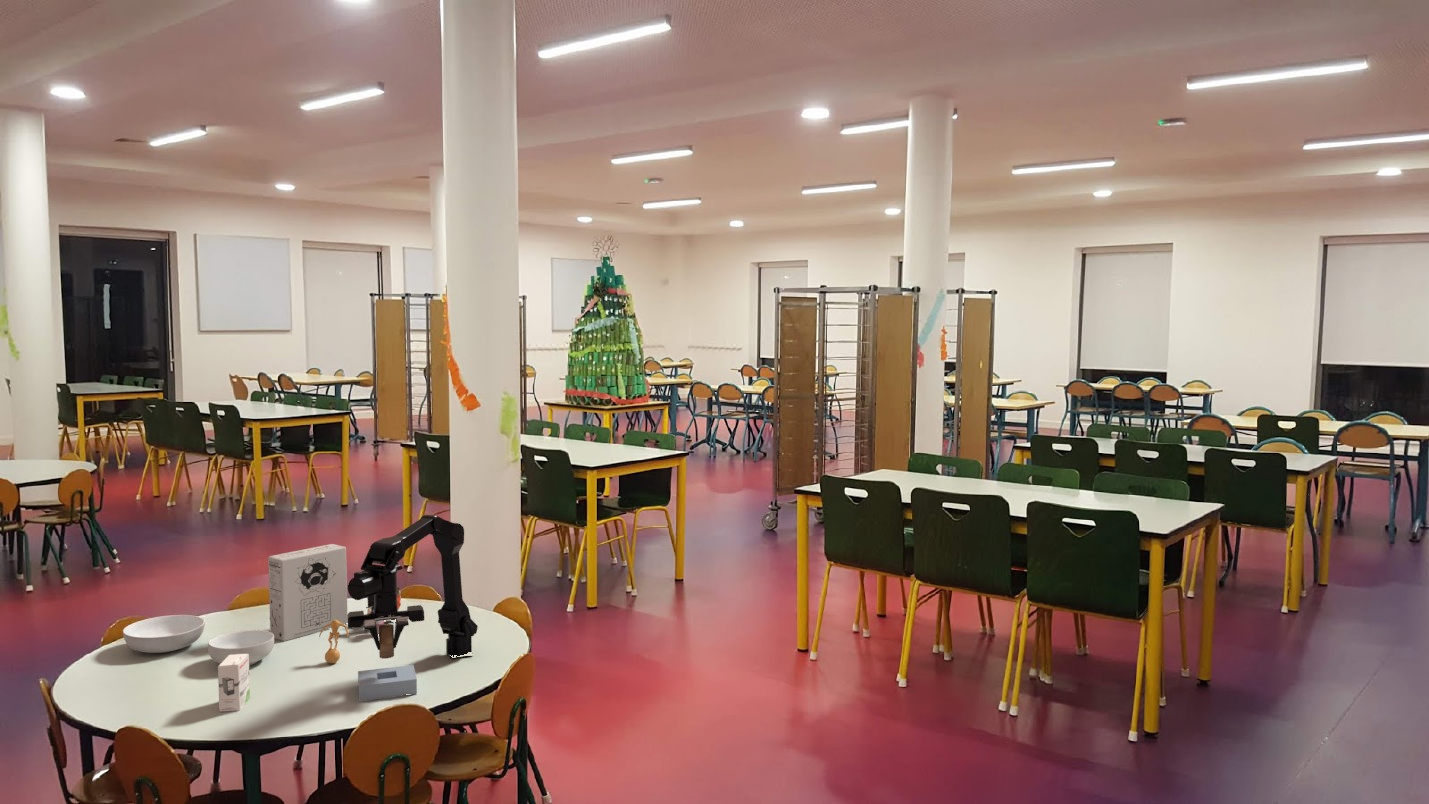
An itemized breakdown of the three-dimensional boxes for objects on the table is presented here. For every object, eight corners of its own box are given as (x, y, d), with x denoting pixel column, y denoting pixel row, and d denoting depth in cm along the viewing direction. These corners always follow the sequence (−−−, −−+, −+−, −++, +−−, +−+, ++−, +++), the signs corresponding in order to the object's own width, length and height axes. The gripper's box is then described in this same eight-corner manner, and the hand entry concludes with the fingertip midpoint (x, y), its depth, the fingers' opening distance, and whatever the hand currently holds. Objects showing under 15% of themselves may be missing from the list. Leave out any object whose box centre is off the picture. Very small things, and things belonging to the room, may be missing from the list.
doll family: (381, 638, 289) (380, 596, 288) (350, 638, 289) (349, 595, 288) (405, 617, 310) (404, 577, 309) (375, 617, 310) (375, 577, 309)
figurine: (314, 665, 266) (313, 623, 265) (323, 657, 272) (322, 616, 271) (344, 665, 266) (343, 623, 265) (352, 658, 272) (351, 617, 271)
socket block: (413, 679, 256) (413, 664, 256) (416, 694, 246) (416, 679, 246) (358, 686, 251) (357, 671, 251) (359, 701, 241) (358, 686, 241)
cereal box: (334, 619, 307) (332, 543, 305) (348, 624, 303) (346, 546, 301) (269, 637, 290) (267, 556, 288) (283, 642, 285) (281, 560, 283)
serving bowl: (131, 666, 264) (130, 642, 264) (117, 646, 280) (116, 623, 279) (213, 650, 278) (213, 627, 277) (195, 632, 294) (195, 610, 293)
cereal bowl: (284, 663, 268) (284, 638, 267) (222, 678, 256) (221, 652, 255) (260, 648, 279) (259, 625, 279) (199, 662, 267) (198, 638, 267)
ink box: (230, 698, 242) (228, 653, 241) (250, 697, 243) (249, 652, 242) (218, 712, 234) (217, 665, 233) (240, 711, 235) (238, 664, 234)
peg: (393, 653, 250) (393, 623, 250) (394, 657, 247) (393, 627, 246) (379, 654, 249) (378, 624, 248) (379, 659, 246) (379, 629, 245)
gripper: (420, 578, 258) (421, 635, 259) (346, 585, 251) (348, 643, 252) (424, 589, 247) (424, 648, 249) (347, 596, 240) (348, 656, 242)
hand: (386, 648), depth 248 cm, fingers closed on peg, 4 cm apart
